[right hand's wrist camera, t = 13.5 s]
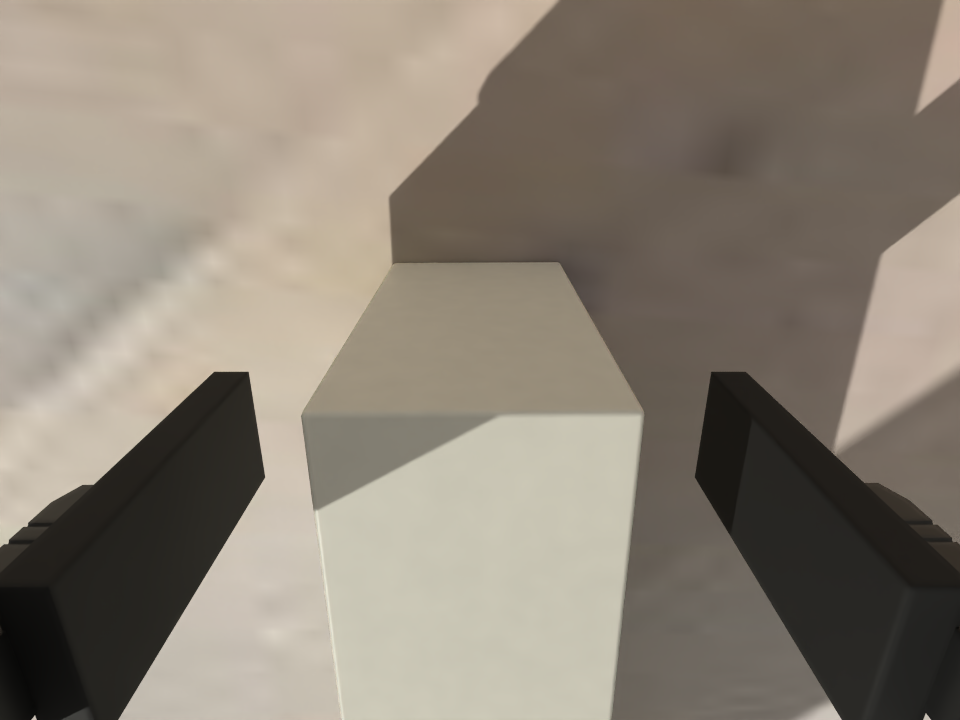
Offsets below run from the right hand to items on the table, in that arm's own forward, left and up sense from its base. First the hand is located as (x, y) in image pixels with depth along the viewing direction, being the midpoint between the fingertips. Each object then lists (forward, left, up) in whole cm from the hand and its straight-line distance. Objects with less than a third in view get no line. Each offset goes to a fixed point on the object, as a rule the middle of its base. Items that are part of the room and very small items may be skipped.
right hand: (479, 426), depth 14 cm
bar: (+8, +4, -4) cm, 10 cm away
